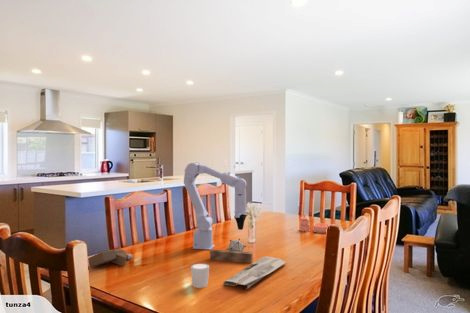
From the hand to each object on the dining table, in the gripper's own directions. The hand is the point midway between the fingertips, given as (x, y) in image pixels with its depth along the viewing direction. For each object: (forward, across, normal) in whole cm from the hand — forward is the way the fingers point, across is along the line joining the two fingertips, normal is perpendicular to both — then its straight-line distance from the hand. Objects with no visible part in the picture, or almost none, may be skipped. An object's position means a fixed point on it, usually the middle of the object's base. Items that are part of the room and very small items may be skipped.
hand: (240, 229), depth 173 cm
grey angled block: (+10, -36, +49) cm, 62 cm away
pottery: (+10, +49, -35) cm, 61 cm away
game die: (+10, -12, -1) cm, 16 cm away
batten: (+10, -19, 0) cm, 21 cm away
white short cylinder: (+10, -49, +4) cm, 50 cm away
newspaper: (+11, -33, -15) cm, 37 cm away
